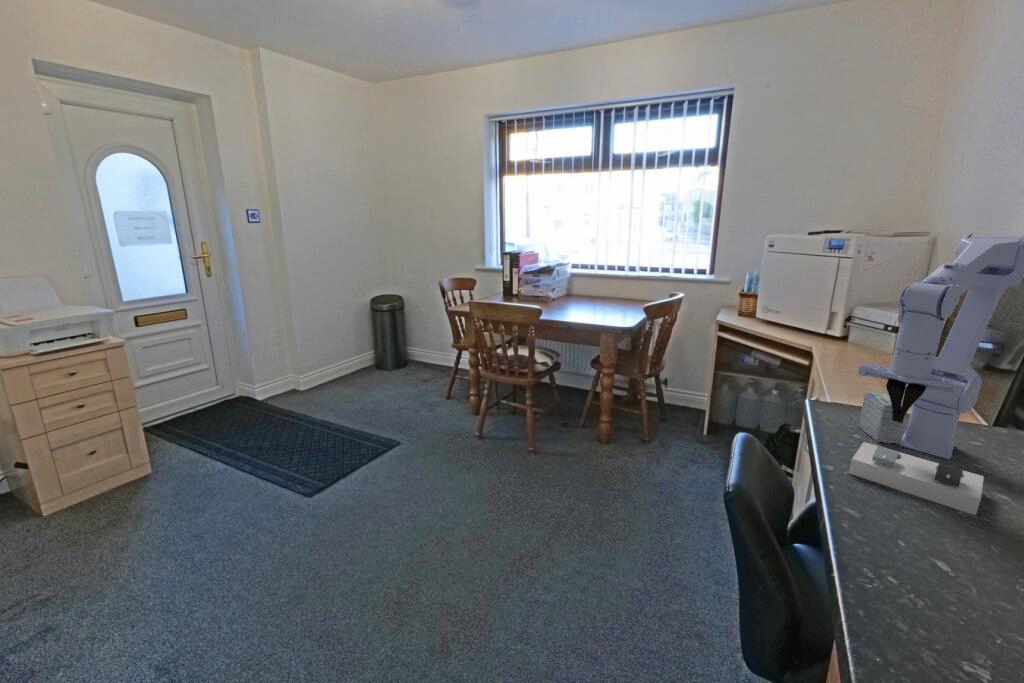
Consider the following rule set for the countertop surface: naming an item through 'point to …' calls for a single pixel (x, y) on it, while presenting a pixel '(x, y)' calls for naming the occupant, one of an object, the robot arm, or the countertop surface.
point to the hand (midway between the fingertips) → (897, 420)
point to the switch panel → (918, 479)
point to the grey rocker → (885, 456)
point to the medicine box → (880, 419)
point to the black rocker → (948, 475)
